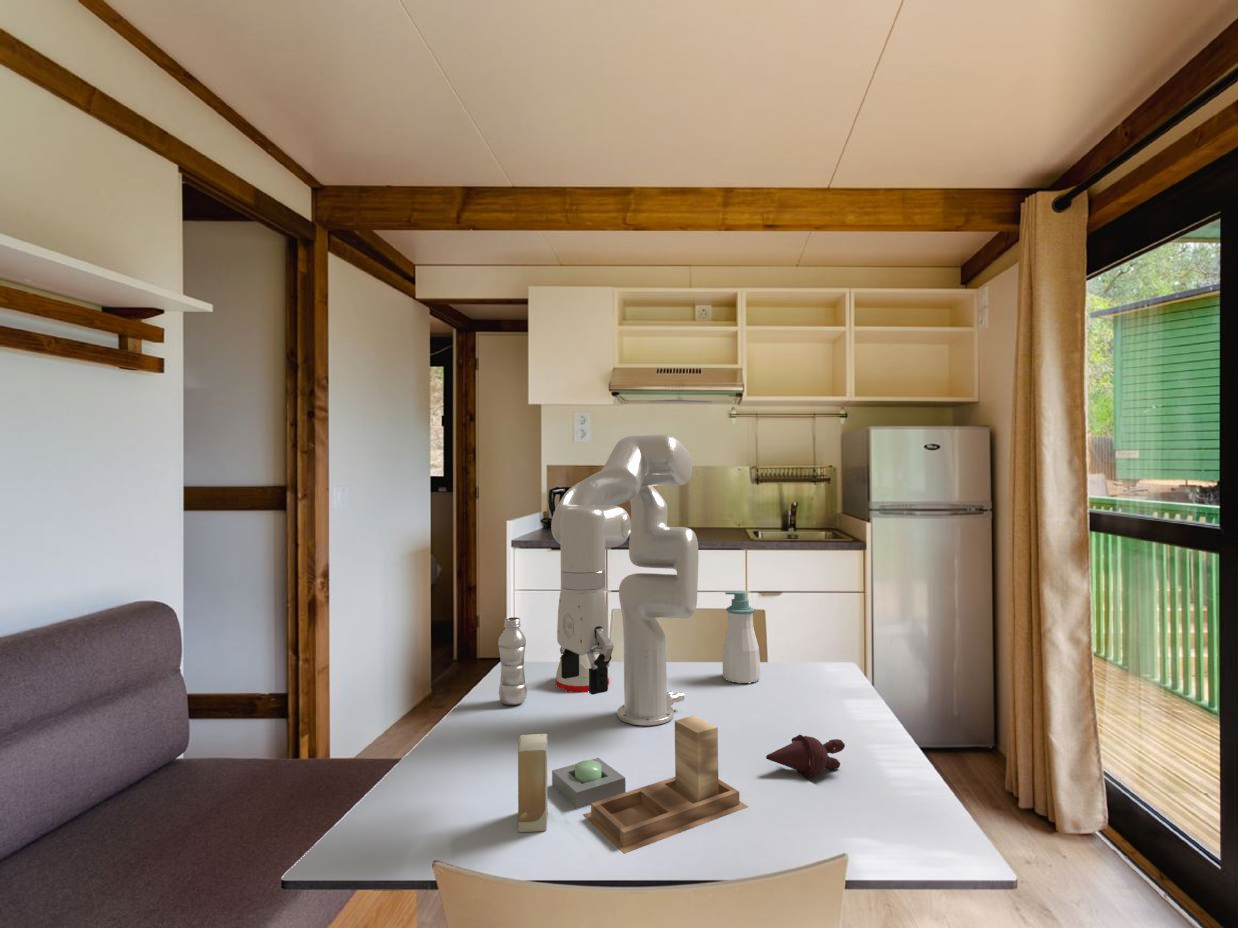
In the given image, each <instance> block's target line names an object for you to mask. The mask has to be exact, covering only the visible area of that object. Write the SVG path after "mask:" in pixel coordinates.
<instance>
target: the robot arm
mask: <svg viewBox="0 0 1238 928" xmlns="http://www.w3.org/2000/svg"><path fill="white" fill-rule="evenodd" d="M607 458H608V459H607V460H606V462H605V464H604V466H603V467H602V469H601V470H600V471H598V472H595V473H594V474H591V475H590V476H587V478H585V479H583V480H581V481H579V482H577V483H575V484H574V485H573V486H571V487H570V488H568V489H567V491H566V492H565V493H564V494H563V495H562V497H561V499H560V501H559V502H558V504H557V506H556V508H555V509H554V512H553V515H552V519H551V523H550V524H551V525H550V527H551V528H550V531H551V534H552V537H553V539H554V540H555V542H557V544H559V545H560V592H559V600H558V610H557V625H556V627H557V629H556V630H557V631H556V634H557V635H556V637H557V638H556V639H557V640H556V641H557V643H558V645H559V646H560V648H559V652H560V655H561V656H560V657H561V676H562V678H563V679H567V678H572V677H577V676H579V655H585V654H586V653H587V656H588V659H589V662H590V665H591V667H592V668H590V669H589V692H588V693H589V694H590V695H598V694H601V693H602V694H604V693H607V692H608V691H609V685H608V672H609V667H610V665H611V664H610V662H611V660H612V653H613V651H614V643H613V641H611V638H609V626H608V609H607V601H606V595H605V594H606V593H605V591H606V590H607V589H606V588H607V587H606V548H617V547H619V546H622V545H624V543H626V541H627V540H628V539H629V544H628V554H629V555H628V556H629V560H630V562H631V563H632V565H634V566H636V567H639V568H645V569H646V568H647V569H669V570H670V569H673V570H675V571H676V574H672V573H671V574H669V573H667V574H666V573H648V572H646V573H645V572H644V573H643V572H639V573H631V574H629V575H627V576H625V577H624V578H623V579H622V580H621V582H620V584H619V587H618V596H619V597H618V598H619V605H620V610H621V617H622V627H623V628H622V629H623V674H624V675H623V683H624V685H623V688H624V689H623V690H624V692H623V693H624V695H623V696H624V698H623V699H624V701H623V702H624V704H622V705H621V706H619V708H618V709H617V718H618V719H619V720H620V721H622V722H624V723H626V724H629V725H635V726H643V727H644V726H647V727H648V726H649V727H650V726H658V725H662V724H663V725H664V724H666V723H669V722H670V721H671V720H672V719H674V717H675V712H674V711H675V710H674V708H673V707H672V705H674V704H675V703H680V702H684V700H685V694H684V693H683V692H681V691H680V692H676V693H673V692H672V691H668V688H667V681H668V680H667V639H666V638H667V637H666V634H665V631H664V629H663V627H662V625H661V624H660V623H659V621H658V620H657V618H664V619H689V618H691V617H692V616H693V615H695V612H696V610H697V602H698V586H699V585H698V583H699V580H698V579H699V542H698V538H697V535H696V533H695V531H693V530H692V529H691V528H689V527H688V526H687V527H685V526H668V511H669V510H668V505H667V503H666V501H665V499H664V498H663V497H662V496H661V493H659V492H658V491H657V490H656V488H655V487H654V486H656V487H657V486H658V487H659V486H660V487H661V486H674V487H675V486H684V485H686V484H687V483H689V481H690V479H691V477H692V474H693V460H692V457H691V454H690V452H689V451H688V450H687V448H685V446H684V445H683V444H682V442H681V441H679V440H678V439H677V438H676V437H673V436H671V435H667V434H655V435H654V434H651V435H631V436H627V437H623V438H621V439H620V440H618V442H616V444H615V446H614V447H613V449H612V450H611V453H610V454H609V456H608V457H607ZM627 502H630V507H631V508H630V510H631V511H630V514H628V512H627V511H626V510H625V509H624V508H623V507H621V506H619V505H622V504H625V503H627ZM591 648H593V649H591ZM563 654H564V655H563ZM596 654H599V656H598V658H597V659H595V656H594V655H596Z"/></svg>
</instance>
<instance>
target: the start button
mask: <svg viewBox="0 0 1238 928" xmlns="http://www.w3.org/2000/svg"><path fill="white" fill-rule="evenodd" d="M575 764H576V765H575V778H576V779H577V780H578V781H579V782H580V783H581V784H584V783H587V782H591V781H594V780H597V779H601V764H600V763H599V762H597V761H593V760H592V759H590V760H588V759H587V760H582V761H579V762H576V763H575Z"/></svg>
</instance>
